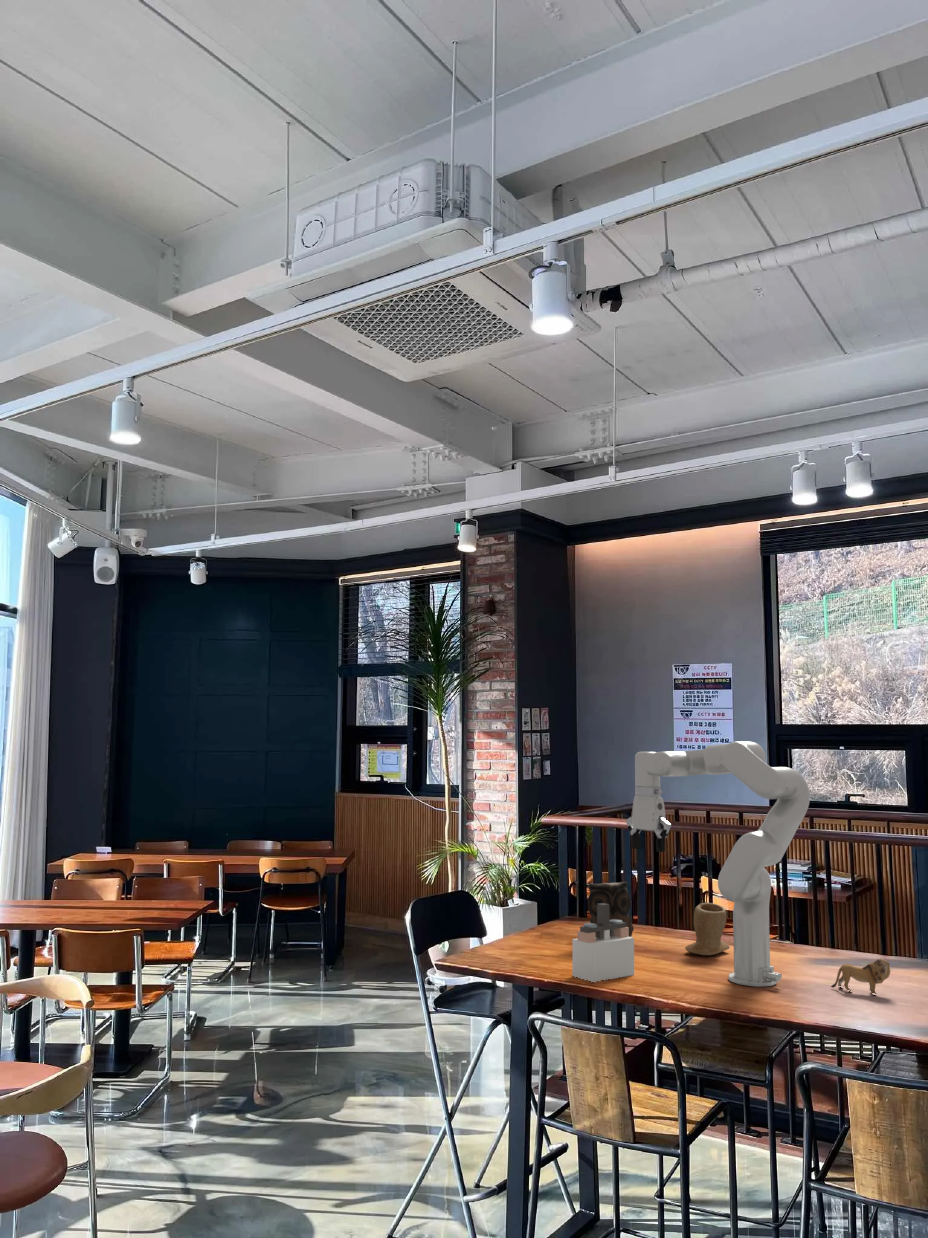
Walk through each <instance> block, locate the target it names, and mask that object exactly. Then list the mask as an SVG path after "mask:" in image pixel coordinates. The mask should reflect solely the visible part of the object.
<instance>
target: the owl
mask: <svg viewBox="0 0 928 1238" xmlns="http://www.w3.org/2000/svg"><path fill="white" fill-rule="evenodd" d="M627 886H628V882H627V881H623V882H622V881H621V882H603V883H589V884H588V890H589V891H588V892H589V895H588V897H587V910H588V912H589V914H590V915H589V916H590V921H589V923H594V924H597V904H600V903H605V904H609V922H610V920H614V919H615V920H622V922H625V923H626V927H629V937H633V931H634V930H635V928H634V925H633V924H632V923H633V919H632V918H631V916H630V915H629V910H630V909H631V908H632V899H631V894H630V893H629V891H628V888H627Z"/></svg>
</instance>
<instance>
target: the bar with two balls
mask: <svg viewBox="0 0 928 1238" xmlns="http://www.w3.org/2000/svg"><path fill="white" fill-rule="evenodd" d="M624 927H626V923H625V922H622V920H615V919H614V920H610V922H609V904H605V903H600V904H597V924H594V923H590V922H586V923H583V926H579V931H582V932H586V933H591V932H595V937H596V938H600V939H601V938H603V931H604V930H610V937H614V929H618V928H624Z"/></svg>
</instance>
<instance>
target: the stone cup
mask: <svg viewBox="0 0 928 1238" xmlns="http://www.w3.org/2000/svg"><path fill="white" fill-rule="evenodd" d="M726 924H727V911H726V908H725V907H724V906H721V905H719V904H717V903H713V902H701V903H699V904H698V905H697V906H696V907H695V909H694V912H693V928H694V931H695V936H696V937H695V938H696V939H695V942H693V943H690V944H688V945H686V946H685V947H684V950H685V951H687V952H689V953H691V954H695V955H701V956H713V955H716V954H719V953H722V952H725V951H727V950H729V949H730V947H731V946H730V945H729V944H728V943H726V942H725V941H724V940H722V936H723V932H724V929H725V927H726Z"/></svg>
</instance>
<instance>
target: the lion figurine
mask: <svg viewBox="0 0 928 1238" xmlns="http://www.w3.org/2000/svg"><path fill="white" fill-rule="evenodd" d="M841 973H842V975H841ZM890 975H891V967H890V962H889V961H887V960H886V959H883V958H878V959H876V960H875V961H873V962H872V963H868V964H867V965H866V966H863V967H858V966H855V965H851V964H849V963H848V964H846V963H845V964H843V965H841V966H840V968H839V969H838V971H837V974H836V980H835V982H834V983H833V984H832V985H831V986H830V988H835V987H838V986H843V987H844V988H845V990H846V989H847V990H850V991H851V990H852V989H850V988H849V983H850V980H851V978H852V979H853V980H855V981H857V982H859V983H868V984H869V992H870V991H871V992H872V993H875V991H876V986H877V984H881V985H882V984H883V982H884V981H885V980H886V979H888V978H889V977H890ZM842 983H844V984H843V985H842ZM847 990H846V991H847ZM871 992H870V993H871ZM872 993H871V994H872Z"/></svg>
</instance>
